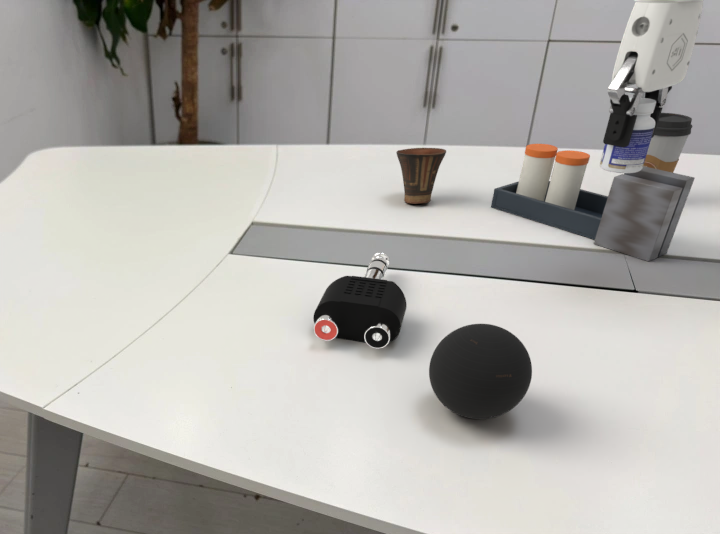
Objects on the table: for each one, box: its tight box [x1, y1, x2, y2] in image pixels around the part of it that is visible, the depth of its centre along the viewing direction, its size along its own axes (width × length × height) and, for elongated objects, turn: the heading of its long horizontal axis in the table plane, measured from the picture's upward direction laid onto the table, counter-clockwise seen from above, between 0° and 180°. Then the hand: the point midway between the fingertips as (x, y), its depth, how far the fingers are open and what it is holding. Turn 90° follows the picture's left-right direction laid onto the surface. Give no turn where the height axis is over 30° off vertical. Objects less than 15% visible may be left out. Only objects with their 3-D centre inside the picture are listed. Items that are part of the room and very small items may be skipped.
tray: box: [490, 180, 608, 241], centre depth 120 cm, size 22×12×4 cm, turn 33°
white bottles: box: [516, 143, 591, 210], centre depth 120 cm, size 11×5×10 cm, turn 33°
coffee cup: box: [643, 112, 693, 173], centre depth 122 cm, size 8×8×15 cm
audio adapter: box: [313, 252, 407, 350], centre depth 92 cm, size 11×5×25 cm
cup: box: [396, 147, 447, 205], centre depth 127 cm, size 9×9×10 cm
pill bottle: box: [599, 97, 656, 174], centre depth 91 cm, size 5×5×9 cm
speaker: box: [428, 323, 533, 420], centre depth 70 cm, size 10×10×10 cm
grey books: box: [593, 166, 696, 262], centre depth 105 cm, size 9×5×12 cm, turn 33°
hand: (628, 139), depth 91 cm, fingers closed on pill bottle, 5 cm apart
